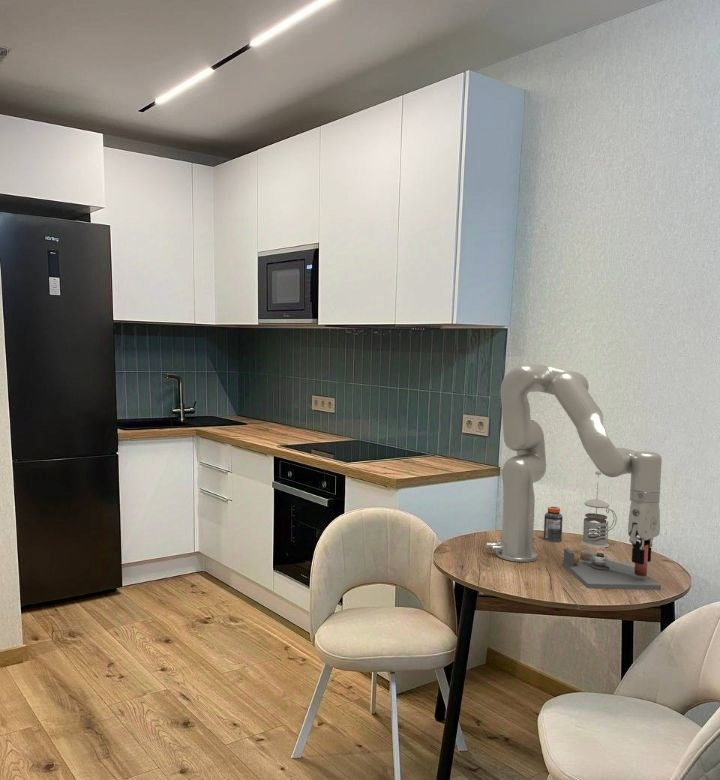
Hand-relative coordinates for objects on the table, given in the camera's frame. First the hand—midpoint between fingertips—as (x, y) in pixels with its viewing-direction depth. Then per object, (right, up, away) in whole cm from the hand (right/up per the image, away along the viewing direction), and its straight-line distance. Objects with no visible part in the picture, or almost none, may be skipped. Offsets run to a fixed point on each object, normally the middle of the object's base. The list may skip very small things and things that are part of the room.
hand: (641, 561), depth 177 cm
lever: (-5, -3, +6) cm, 9 cm away
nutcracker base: (-7, -6, +5) cm, 11 cm away
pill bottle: (-12, -4, +42) cm, 44 cm away
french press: (+2, -5, +39) cm, 39 cm away
